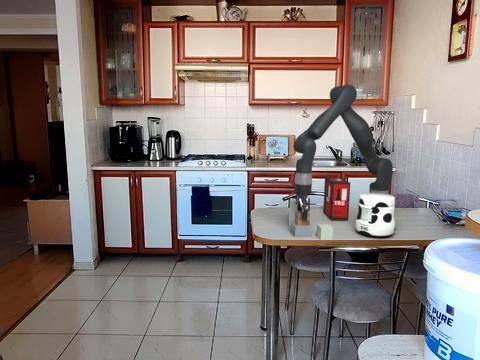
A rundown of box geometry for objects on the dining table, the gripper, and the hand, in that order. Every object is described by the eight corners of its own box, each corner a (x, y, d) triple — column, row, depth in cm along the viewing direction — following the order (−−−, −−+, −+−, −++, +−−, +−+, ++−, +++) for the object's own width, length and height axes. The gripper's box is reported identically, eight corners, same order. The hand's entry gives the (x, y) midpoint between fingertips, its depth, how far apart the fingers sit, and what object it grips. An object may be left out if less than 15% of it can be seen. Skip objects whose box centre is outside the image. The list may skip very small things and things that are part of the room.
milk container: (391, 230, 189) (394, 193, 186) (397, 241, 172) (400, 201, 169) (353, 227, 193) (356, 191, 190) (355, 238, 176) (358, 198, 173)
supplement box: (303, 227, 192) (304, 202, 190) (288, 226, 193) (289, 201, 191) (304, 223, 199) (305, 198, 197) (289, 222, 200) (290, 198, 198)
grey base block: (307, 231, 186) (307, 220, 185) (312, 237, 178) (312, 225, 177) (290, 232, 184) (290, 221, 184) (295, 237, 177) (295, 226, 176)
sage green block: (328, 235, 180) (328, 224, 179) (332, 239, 174) (333, 227, 173) (316, 236, 179) (317, 224, 178) (320, 240, 173) (321, 228, 172)
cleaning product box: (348, 220, 204) (350, 182, 201) (331, 220, 204) (333, 182, 200) (338, 212, 220) (340, 177, 217) (323, 212, 220) (324, 177, 217)
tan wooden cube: (306, 221, 183) (306, 210, 182) (309, 225, 178) (310, 213, 177) (294, 222, 183) (294, 210, 182) (297, 225, 177) (298, 213, 176)
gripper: (316, 185, 170) (314, 221, 173) (306, 179, 184) (305, 213, 187) (299, 185, 169) (298, 222, 172) (291, 179, 183) (289, 213, 186)
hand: (301, 217), depth 180 cm, fingers open, 8 cm apart
